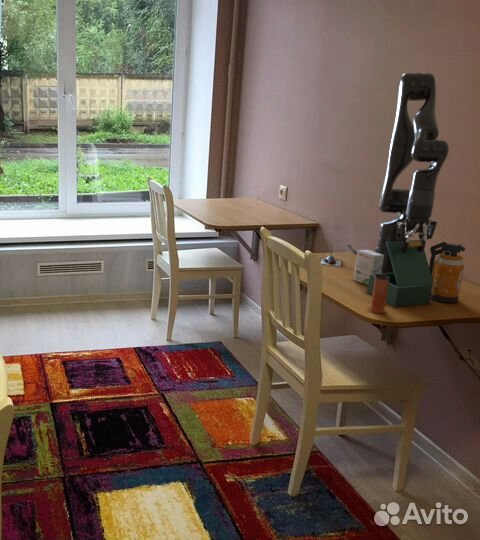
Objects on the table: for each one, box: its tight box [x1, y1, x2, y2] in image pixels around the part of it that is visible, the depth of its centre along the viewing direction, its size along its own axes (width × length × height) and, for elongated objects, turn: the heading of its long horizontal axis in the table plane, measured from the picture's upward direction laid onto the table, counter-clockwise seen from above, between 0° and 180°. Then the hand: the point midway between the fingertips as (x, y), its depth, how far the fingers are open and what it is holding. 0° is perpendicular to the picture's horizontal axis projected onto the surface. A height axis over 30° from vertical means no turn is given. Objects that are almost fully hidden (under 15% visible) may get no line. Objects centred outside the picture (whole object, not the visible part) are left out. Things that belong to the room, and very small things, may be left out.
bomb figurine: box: [320, 249, 342, 267], centre depth 249 cm, size 8×8×6 cm
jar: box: [369, 274, 390, 314], centre depth 196 cm, size 4×4×12 cm
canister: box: [429, 241, 466, 303], centre depth 206 cm, size 9×11×20 cm
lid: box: [386, 239, 433, 287], centre depth 201 cm, size 15×14×5 cm
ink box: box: [353, 249, 384, 286], centre depth 223 cm, size 8×5×12 cm, turn 25°
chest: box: [366, 273, 432, 308], centre depth 209 cm, size 15×14×7 cm
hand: (411, 251), depth 201 cm, fingers closed on lid, 5 cm apart
